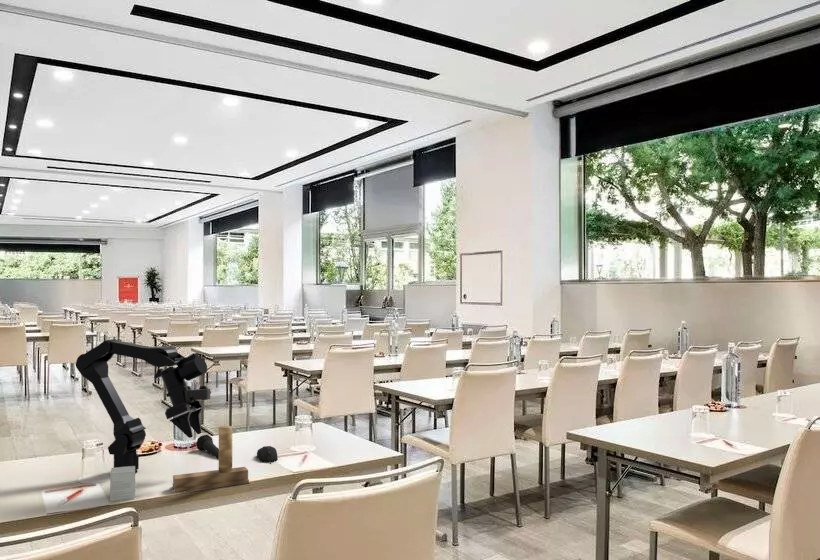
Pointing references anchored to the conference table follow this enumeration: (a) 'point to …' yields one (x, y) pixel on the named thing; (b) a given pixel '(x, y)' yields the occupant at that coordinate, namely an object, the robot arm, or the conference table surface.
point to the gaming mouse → (267, 454)
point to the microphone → (207, 445)
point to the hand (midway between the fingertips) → (195, 435)
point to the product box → (122, 483)
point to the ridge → (210, 479)
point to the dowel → (225, 449)
